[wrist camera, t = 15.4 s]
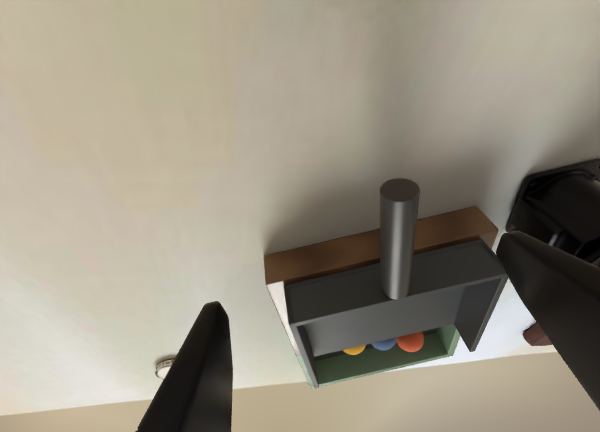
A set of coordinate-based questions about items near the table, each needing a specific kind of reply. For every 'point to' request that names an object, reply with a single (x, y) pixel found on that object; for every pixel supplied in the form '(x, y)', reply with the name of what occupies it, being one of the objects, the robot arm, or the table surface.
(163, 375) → the white bottle cap
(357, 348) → the mustard ball
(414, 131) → the table surface
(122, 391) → the table surface
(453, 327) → the bin
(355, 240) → the stand
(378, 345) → the slate-blue ball
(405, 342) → the terracotta ball
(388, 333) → the pan
